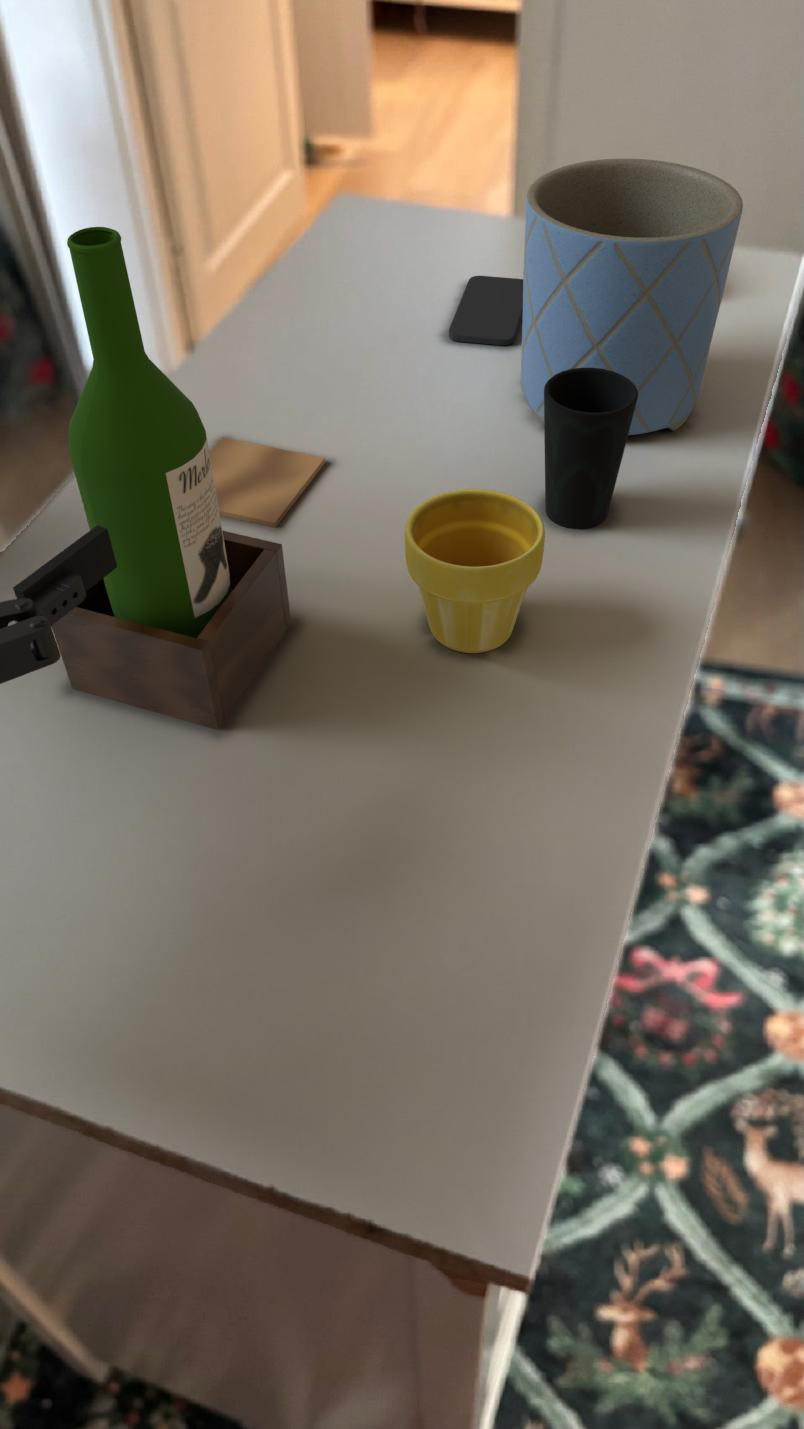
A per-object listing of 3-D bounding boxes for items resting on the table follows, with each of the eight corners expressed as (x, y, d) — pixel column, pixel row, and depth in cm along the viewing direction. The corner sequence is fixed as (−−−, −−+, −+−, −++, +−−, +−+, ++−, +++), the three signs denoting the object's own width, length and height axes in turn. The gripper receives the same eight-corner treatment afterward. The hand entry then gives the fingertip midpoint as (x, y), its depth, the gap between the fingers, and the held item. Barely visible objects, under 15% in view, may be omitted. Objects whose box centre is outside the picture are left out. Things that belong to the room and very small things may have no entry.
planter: (522, 452, 104) (537, 243, 90) (506, 355, 117) (517, 160, 103) (720, 447, 104) (767, 238, 89) (681, 351, 117) (717, 155, 103)
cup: (618, 540, 94) (637, 417, 85) (530, 533, 95) (541, 411, 86) (620, 490, 99) (638, 369, 91) (537, 483, 100) (547, 364, 92)
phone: (446, 334, 119) (470, 274, 129) (446, 341, 119) (470, 281, 129) (513, 340, 118) (532, 279, 128) (512, 347, 118) (531, 286, 128)
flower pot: (441, 571, 91) (442, 473, 84) (555, 606, 88) (566, 507, 81) (383, 645, 85) (379, 545, 78) (503, 686, 82) (511, 586, 75)
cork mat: (167, 503, 99) (166, 498, 99) (223, 442, 106) (222, 437, 106) (275, 528, 96) (275, 522, 96) (325, 463, 103) (325, 457, 103)
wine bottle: (218, 703, 81) (135, 277, 57) (108, 685, 82) (-17, 262, 59) (257, 626, 87) (195, 211, 63) (153, 611, 88) (56, 200, 65)
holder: (71, 689, 82) (45, 609, 77) (155, 589, 90) (136, 510, 85) (218, 730, 79) (202, 650, 73) (291, 623, 87) (282, 543, 81)
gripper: (-402, 693, 60) (-95, 501, 72) (-100, 888, 50) (194, 629, 62) (-485, 587, 54) (-138, 400, 67) (-163, 783, 45) (172, 522, 57)
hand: (23, 510), depth 65 cm, fingers open, 13 cm apart
